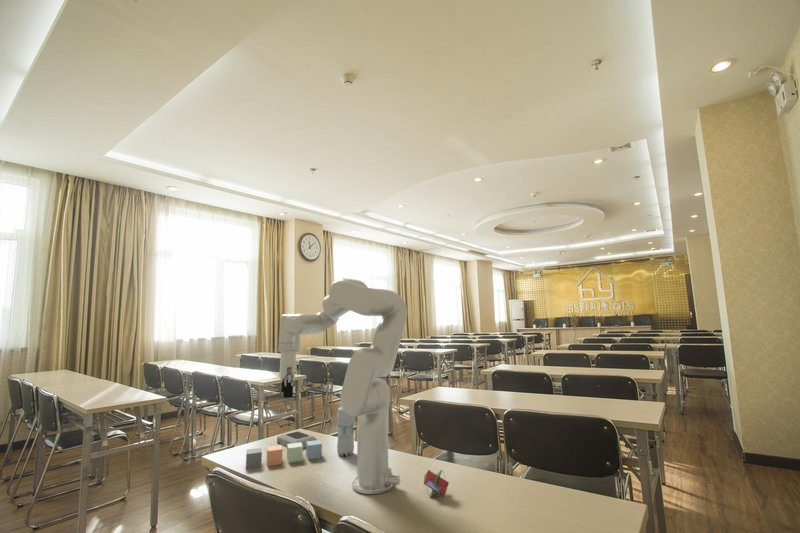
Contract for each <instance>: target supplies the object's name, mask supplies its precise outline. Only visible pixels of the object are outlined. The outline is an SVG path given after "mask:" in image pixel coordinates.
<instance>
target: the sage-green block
mask: <svg viewBox="0 0 800 533" xmlns="http://www.w3.org/2000/svg"><path fill="white" fill-rule="evenodd" d="M303 449H304V448H303V446H302V443H301V442H300V443H292V444H287V446H286V459H287V460H286V461H287V464H290V463H296V462H303V458H304V457H303V453H304V452H303Z"/></svg>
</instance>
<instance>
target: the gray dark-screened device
mask: <svg viewBox="0 0 800 533" xmlns="http://www.w3.org/2000/svg"><path fill="white" fill-rule="evenodd" d="M314 440H318V439H317V438H316V437H315V436H314V435H311V434H308V433H305V432H302V431H299V430H295V431H292V432H288V433H283V434H281V435H279V436H277V437H276V443H277V442H279V443H280V444H279V443H278V444H279V445H282V446H284V445H285V447H287V444H292V443H300V442H301V443H302V446H303V449H306V448H305V447H306V442H307V441H314Z"/></svg>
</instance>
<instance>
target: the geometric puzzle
mask: <svg viewBox="0 0 800 533" xmlns="http://www.w3.org/2000/svg"><path fill="white" fill-rule="evenodd" d="M442 473H443V476H444V478H442V477H441V475H442ZM423 475H424V476H423V485H424V486H425V487H426V489H425V490H426V491H428V488H430V489H431V490H432V491H431V493H430V494H429V497H430V496H431V495H432V496H431V497H434V496H435V495H436V493H437V492H438V493H437V494H439V493H440V494H439V495H441V496H442V495H443V496H442V497H444V496H446V493H447V490H448V487H449V484H450V482H449V481H447V478H446V475H445V473H444V471H443V469H440V470H439V471H438V472H437V473H435V472H432V470H429V469H428V470H427V471H426V473H425V474H423ZM427 487H428V488H427Z"/></svg>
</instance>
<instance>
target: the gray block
mask: <svg viewBox="0 0 800 533" xmlns="http://www.w3.org/2000/svg"><path fill="white" fill-rule="evenodd" d="M262 450H263V449H262V447H257V448H248V449H246V451H245V452H246V454H245V470H250V469H249V468H252V469H256V467H258V468H262V462H263V461H262V457H263V456H262V455H263V451H262Z"/></svg>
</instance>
